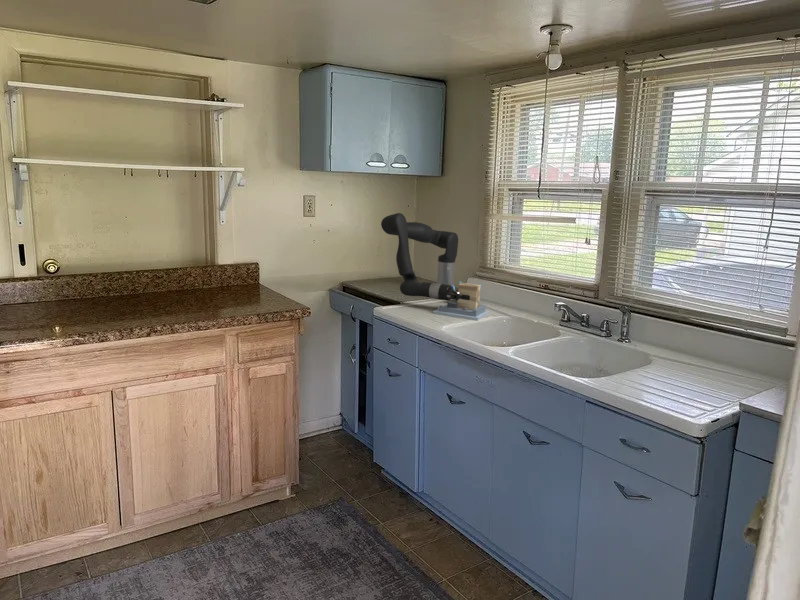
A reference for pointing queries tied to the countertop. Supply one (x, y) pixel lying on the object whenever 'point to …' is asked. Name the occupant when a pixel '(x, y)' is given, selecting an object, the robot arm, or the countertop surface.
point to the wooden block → (472, 292)
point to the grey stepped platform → (462, 311)
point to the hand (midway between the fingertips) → (472, 296)
